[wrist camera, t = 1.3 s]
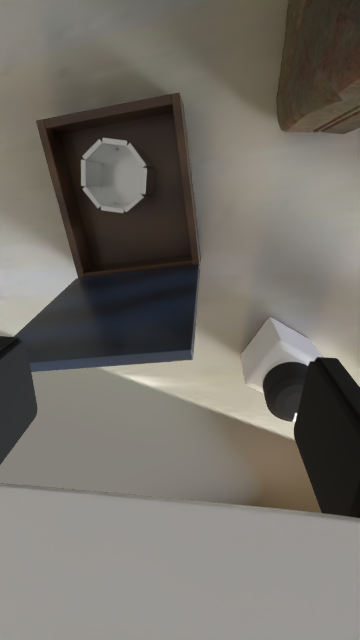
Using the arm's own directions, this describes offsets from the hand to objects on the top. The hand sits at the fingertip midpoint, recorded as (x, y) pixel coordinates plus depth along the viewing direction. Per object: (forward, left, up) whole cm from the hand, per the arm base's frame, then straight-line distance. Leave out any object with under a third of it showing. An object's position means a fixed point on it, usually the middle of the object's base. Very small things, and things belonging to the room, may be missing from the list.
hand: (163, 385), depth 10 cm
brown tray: (+3, -9, -31) cm, 32 cm away
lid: (+8, -1, -17) cm, 19 cm away
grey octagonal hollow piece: (+2, -11, -30) cm, 32 cm away
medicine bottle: (0, +18, -31) cm, 36 cm away
